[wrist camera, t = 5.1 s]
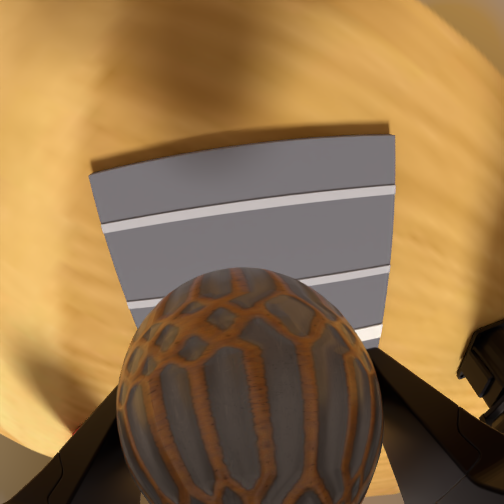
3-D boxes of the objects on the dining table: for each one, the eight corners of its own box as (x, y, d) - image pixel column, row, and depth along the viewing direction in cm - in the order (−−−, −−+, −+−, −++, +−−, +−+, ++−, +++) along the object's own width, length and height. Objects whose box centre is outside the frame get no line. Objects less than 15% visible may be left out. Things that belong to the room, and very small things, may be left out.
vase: (228, 406, 13) (255, 590, 5) (101, 319, 10) (39, 561, 3) (359, 320, 12) (470, 515, 4) (247, 187, 9) (402, 537, 1)
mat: (389, 134, 15) (395, 135, 15) (373, 353, 22) (376, 360, 22) (92, 173, 15) (87, 175, 14) (165, 383, 22) (164, 390, 22)
